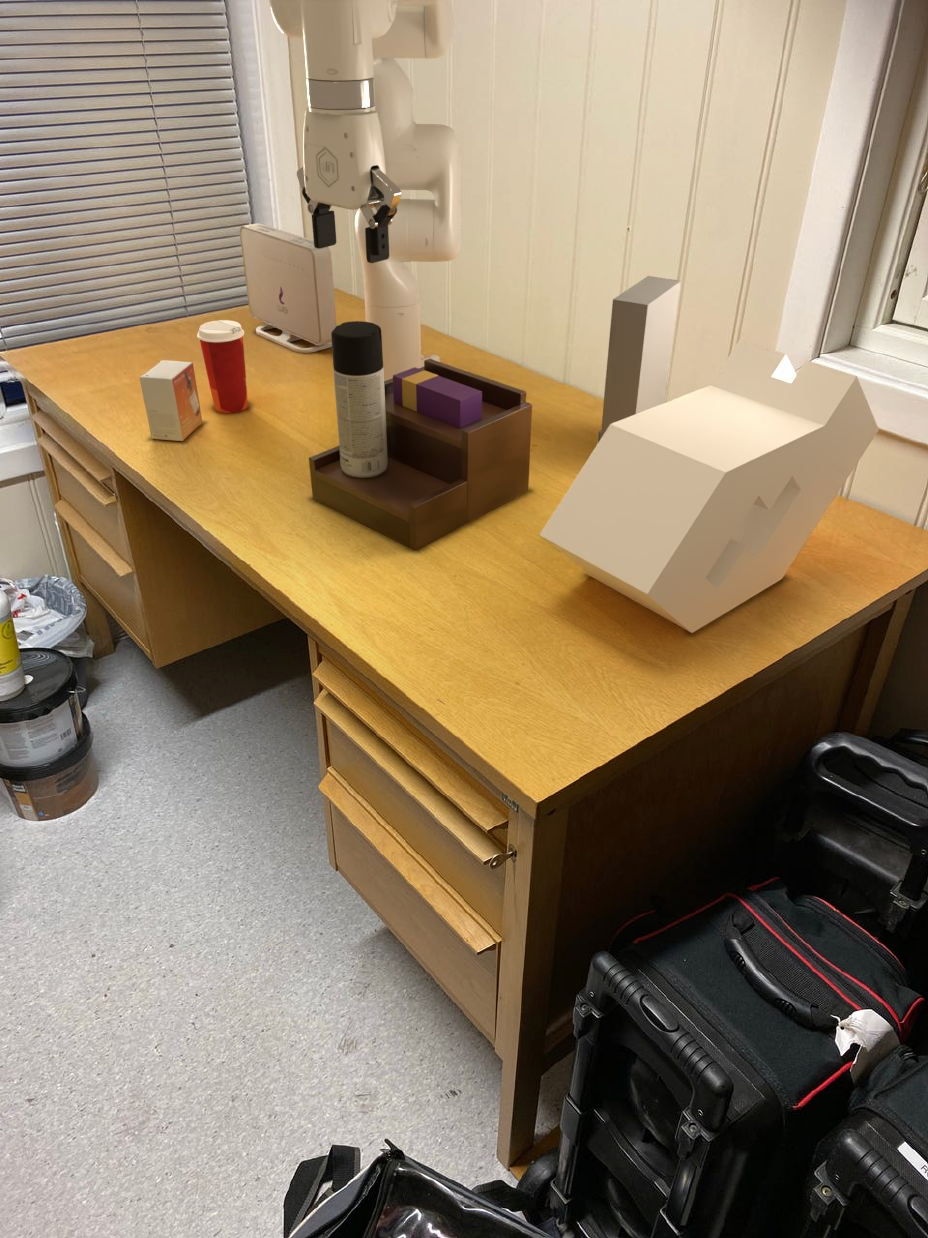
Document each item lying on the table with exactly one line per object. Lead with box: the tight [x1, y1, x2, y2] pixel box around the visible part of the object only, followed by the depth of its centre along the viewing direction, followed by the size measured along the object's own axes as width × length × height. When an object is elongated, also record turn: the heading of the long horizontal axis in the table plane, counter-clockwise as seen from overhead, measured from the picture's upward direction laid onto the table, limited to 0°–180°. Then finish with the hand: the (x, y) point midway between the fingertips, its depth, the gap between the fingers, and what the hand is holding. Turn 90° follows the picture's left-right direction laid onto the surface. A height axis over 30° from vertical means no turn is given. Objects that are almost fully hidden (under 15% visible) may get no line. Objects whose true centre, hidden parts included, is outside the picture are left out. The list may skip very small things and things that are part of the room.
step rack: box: [308, 359, 533, 551], centre depth 135 cm, size 23×21×15 cm
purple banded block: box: [393, 367, 482, 428], centre depth 133 cm, size 4×13×4 cm, turn 47°
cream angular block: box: [539, 339, 880, 634], centre depth 116 cm, size 26×16×35 cm
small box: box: [139, 359, 203, 442], centre depth 154 cm, size 8×6×10 cm
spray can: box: [331, 320, 388, 478], centre depth 129 cm, size 7×7×20 cm
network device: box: [239, 222, 337, 354], centre depth 189 cm, size 26×9×20 cm, turn 43°
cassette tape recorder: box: [596, 275, 682, 445], centre depth 145 cm, size 14×6×25 cm, turn 150°
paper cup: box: [196, 319, 249, 414], centre depth 162 cm, size 8×8×14 cm
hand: (351, 253), depth 118 cm, fingers open, 9 cm apart
